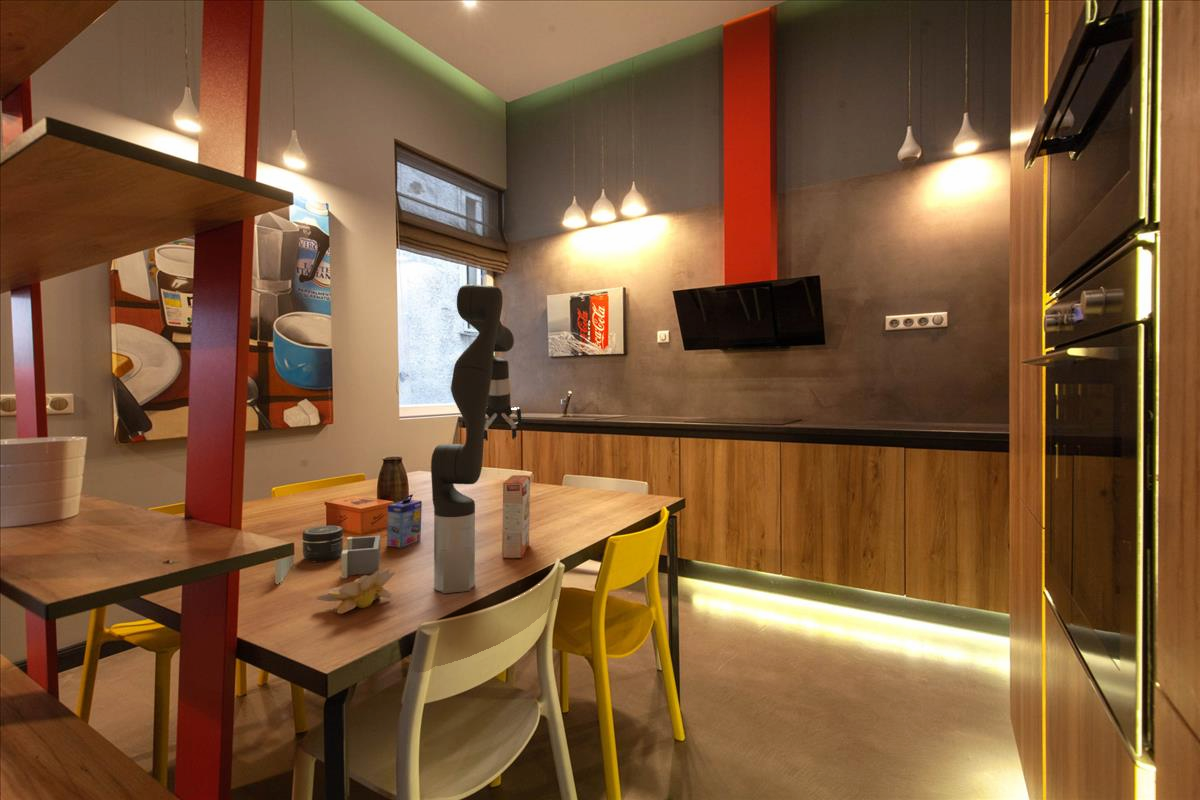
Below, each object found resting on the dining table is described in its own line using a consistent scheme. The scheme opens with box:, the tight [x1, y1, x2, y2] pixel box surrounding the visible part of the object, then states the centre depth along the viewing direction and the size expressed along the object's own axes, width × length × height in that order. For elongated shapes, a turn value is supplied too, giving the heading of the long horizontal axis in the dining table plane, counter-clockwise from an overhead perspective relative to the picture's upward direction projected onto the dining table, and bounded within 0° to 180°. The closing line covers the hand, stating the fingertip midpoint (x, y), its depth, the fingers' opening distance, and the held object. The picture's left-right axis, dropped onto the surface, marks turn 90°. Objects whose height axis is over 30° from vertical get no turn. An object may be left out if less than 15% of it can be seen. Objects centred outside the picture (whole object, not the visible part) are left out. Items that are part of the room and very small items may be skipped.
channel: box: [274, 535, 381, 585], centre depth 143 cm, size 16×22×6 cm
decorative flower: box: [316, 569, 396, 614], centre depth 120 cm, size 15×11×10 cm
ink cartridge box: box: [386, 493, 423, 549], centre depth 168 cm, size 10×6×14 cm, turn 163°
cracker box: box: [501, 474, 531, 559], centre depth 160 cm, size 14×6×21 cm, turn 179°
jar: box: [301, 525, 344, 563], centre depth 153 cm, size 10×10×8 cm
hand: (500, 439), depth 184 cm, fingers open, 8 cm apart
